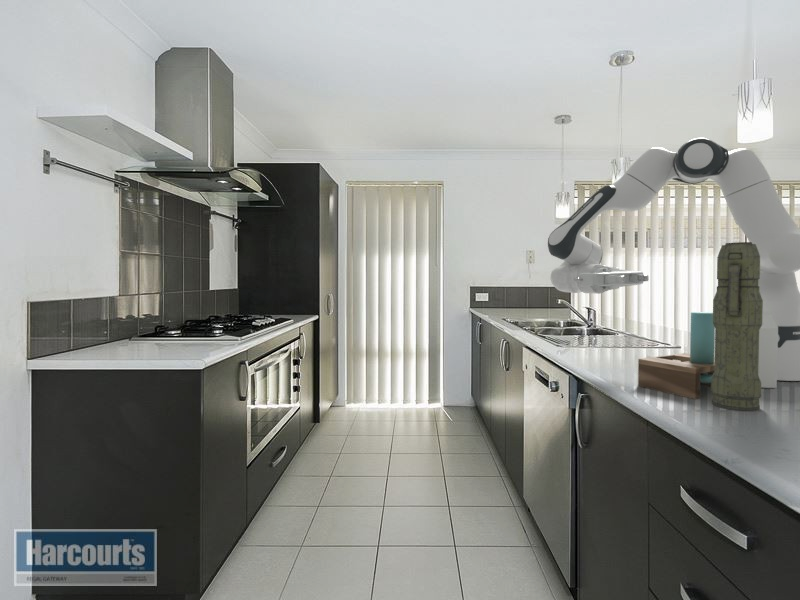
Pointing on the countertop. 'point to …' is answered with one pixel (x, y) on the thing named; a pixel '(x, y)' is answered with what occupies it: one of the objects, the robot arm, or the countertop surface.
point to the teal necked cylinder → (702, 341)
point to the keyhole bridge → (673, 374)
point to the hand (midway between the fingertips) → (635, 278)
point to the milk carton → (768, 351)
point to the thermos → (737, 328)
